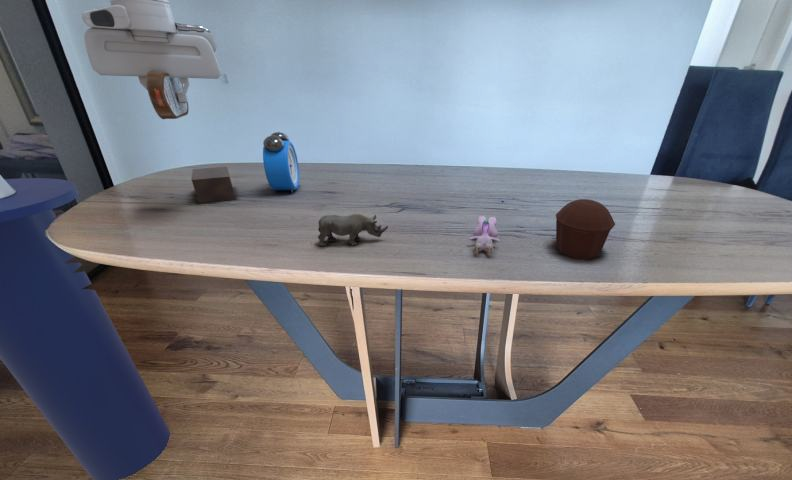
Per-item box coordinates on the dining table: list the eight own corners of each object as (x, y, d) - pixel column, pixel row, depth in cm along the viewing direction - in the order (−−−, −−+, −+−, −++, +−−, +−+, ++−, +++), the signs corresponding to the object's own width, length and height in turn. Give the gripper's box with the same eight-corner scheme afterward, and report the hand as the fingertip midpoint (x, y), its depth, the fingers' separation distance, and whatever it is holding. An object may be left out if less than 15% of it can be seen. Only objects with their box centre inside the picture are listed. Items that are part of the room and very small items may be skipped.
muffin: (611, 265, 70) (625, 215, 65) (552, 259, 71) (560, 209, 66) (601, 240, 80) (612, 195, 75) (549, 236, 81) (557, 191, 76)
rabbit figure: (498, 263, 72) (501, 224, 83) (500, 237, 68) (503, 200, 79) (466, 261, 72) (473, 222, 84) (467, 235, 68) (474, 198, 80)
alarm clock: (293, 196, 100) (282, 137, 92) (269, 197, 99) (255, 137, 91) (302, 183, 111) (292, 130, 103) (280, 183, 110) (269, 130, 102)
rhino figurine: (389, 244, 75) (387, 216, 72) (317, 248, 72) (312, 219, 69) (388, 236, 78) (386, 209, 75) (320, 239, 76) (315, 211, 73)
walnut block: (199, 203, 92) (191, 179, 89) (199, 191, 101) (192, 169, 98) (235, 199, 96) (229, 176, 93) (232, 187, 105) (227, 166, 102)
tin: (178, 113, 82) (163, 70, 78) (195, 112, 83) (180, 70, 79) (157, 122, 70) (136, 71, 66) (176, 121, 71) (157, 71, 66)
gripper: (211, 27, 75) (229, 101, 82) (78, 15, 66) (110, 101, 73) (212, 25, 71) (230, 104, 77) (68, 12, 61) (103, 104, 68)
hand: (171, 102), depth 75 cm, fingers closed on tin, 3 cm apart
